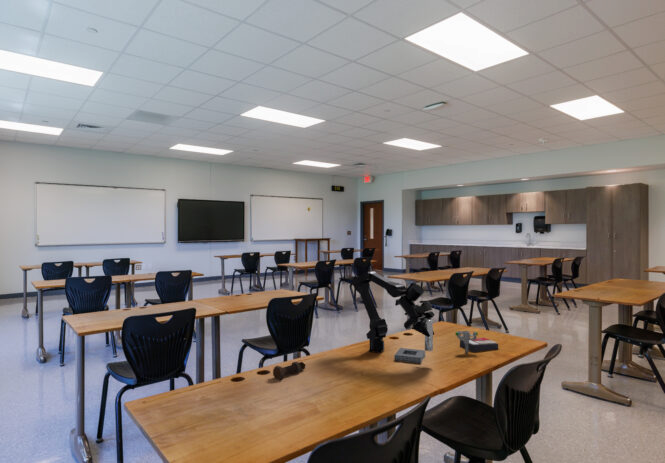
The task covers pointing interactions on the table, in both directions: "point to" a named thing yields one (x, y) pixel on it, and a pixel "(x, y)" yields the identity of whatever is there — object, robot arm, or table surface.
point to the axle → (430, 339)
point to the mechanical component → (466, 337)
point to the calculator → (480, 344)
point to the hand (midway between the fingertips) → (431, 335)
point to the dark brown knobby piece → (287, 370)
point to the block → (409, 355)
